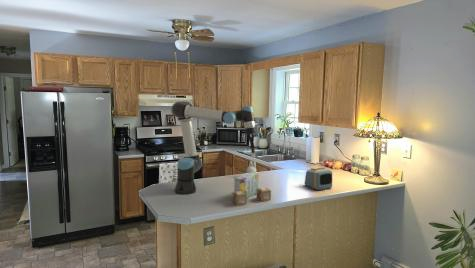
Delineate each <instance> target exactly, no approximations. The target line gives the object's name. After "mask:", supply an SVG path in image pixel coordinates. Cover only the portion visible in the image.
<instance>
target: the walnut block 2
mask: <svg viewBox="0 0 475 268" xmlns="http://www.w3.org/2000/svg"><path fill="white" fill-rule="evenodd" d="M271 198H272V190H271V189H269V188H267V187H258V188H257V194H256V199H257V200H258V199H259V200H258V201H260V202H266V201H268V200H269V201H271Z"/></svg>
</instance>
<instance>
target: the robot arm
mask: <svg viewBox="0 0 475 268" xmlns="http://www.w3.org/2000/svg"><path fill="white" fill-rule="evenodd" d="M253 109H254V108H253V106H251V105H245V106H242V107H241V109H239V110H236V111H235V110H234V111H226V110H219V109H218V110H216V109H212V108H211V109H209V108H203V107H196V106H194V105H193V103H192V102H189V101H186V100H185V101H176V102H174V103H173V104H172V105H171V114H172V115H173V116H174V117H175V118H177V120H178V122H179V123H180V129H181V133H182V134H181V135H182V142H183V148H184V155H183V157H182V158H179V159H178V160H177V165H176V166H177V172H176V174H177V175H176V176H177V181H176V184H175V186H174V192H175V193H176V194H179V195H190V194H195V193H196V192H197V187H196V183H195V173H197V172H199V171H200V170H201V168H202V166H203V161H202V160H203V159H202V158H201V157H200V154H199V152H197V146H196V140H195V139H196V138H195V134H194V126H193V120H194V119H198V120H199V119H200V120H207V121H214V122H221V123H225V124H229V125H230V124H234V123H236V122H243V126H244V133H245V134H246V135H247V134H248V141H249V144H250V147H249V149H250V154H251V159H255V158H257V155H256V146H255V142H254V141H255V136H254V135H253V134H256V132H257V130H256V122H255V117H254V116H255V115H254V111H253Z"/></svg>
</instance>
